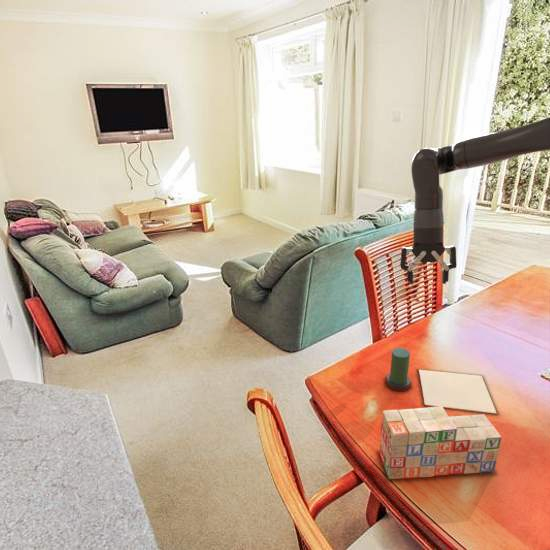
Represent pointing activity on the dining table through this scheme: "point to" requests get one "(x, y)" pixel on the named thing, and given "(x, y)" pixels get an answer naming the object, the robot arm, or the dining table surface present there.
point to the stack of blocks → (436, 443)
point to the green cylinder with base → (399, 370)
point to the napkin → (455, 391)
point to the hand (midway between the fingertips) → (427, 283)
